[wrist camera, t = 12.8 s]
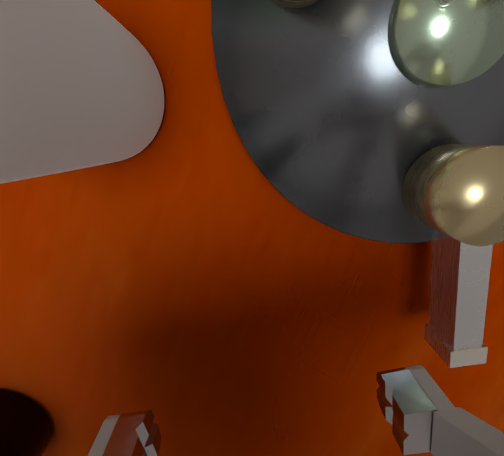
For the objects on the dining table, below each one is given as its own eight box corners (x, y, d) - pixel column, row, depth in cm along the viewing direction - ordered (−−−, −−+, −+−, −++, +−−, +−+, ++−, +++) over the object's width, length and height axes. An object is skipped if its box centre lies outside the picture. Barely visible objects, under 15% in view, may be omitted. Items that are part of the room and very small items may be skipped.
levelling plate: (596, 203, 16) (671, 217, 13) (252, 257, 17) (253, 281, 14) (713, -337, 10) (899, -526, 7) (168, -212, 11) (139, -337, 8)
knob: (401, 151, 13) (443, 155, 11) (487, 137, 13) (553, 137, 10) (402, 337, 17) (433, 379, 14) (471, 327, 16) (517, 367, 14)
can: (97, -14, 13) (-1216, -1323, 1) (194, 106, 14) (-21, -16, 3) (9, 85, 14) (-1076, -151, 3) (107, 186, 16) (-285, 321, 4)
